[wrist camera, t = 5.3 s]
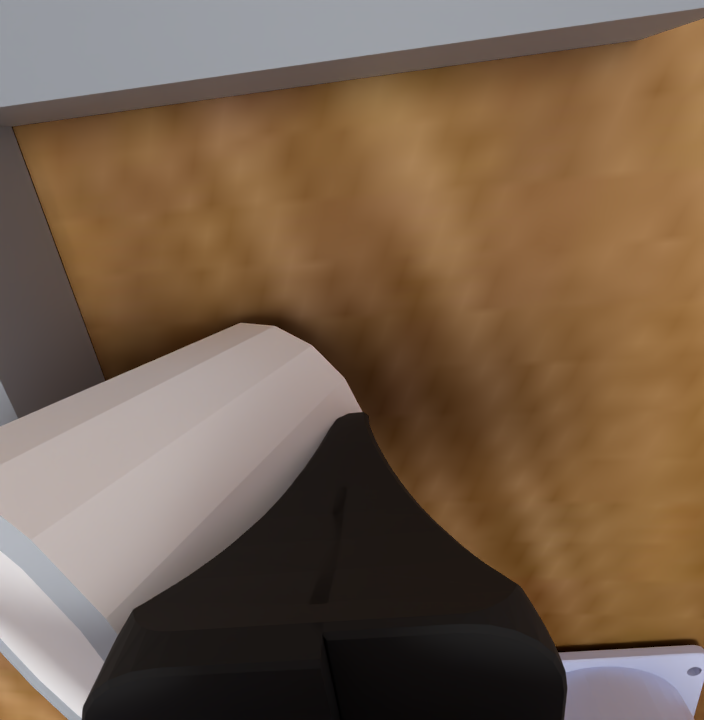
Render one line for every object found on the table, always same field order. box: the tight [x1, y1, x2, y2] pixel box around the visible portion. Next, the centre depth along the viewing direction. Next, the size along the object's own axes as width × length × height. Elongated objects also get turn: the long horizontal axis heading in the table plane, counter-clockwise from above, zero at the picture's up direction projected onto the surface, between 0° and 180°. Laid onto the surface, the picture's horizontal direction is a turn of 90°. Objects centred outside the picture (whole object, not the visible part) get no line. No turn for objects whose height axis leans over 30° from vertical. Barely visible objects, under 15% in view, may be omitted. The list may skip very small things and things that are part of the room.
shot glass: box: [0, 323, 362, 720], centre depth 11 cm, size 7×7×7 cm
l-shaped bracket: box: [0, 0, 704, 426], centre depth 13 cm, size 18×16×4 cm
